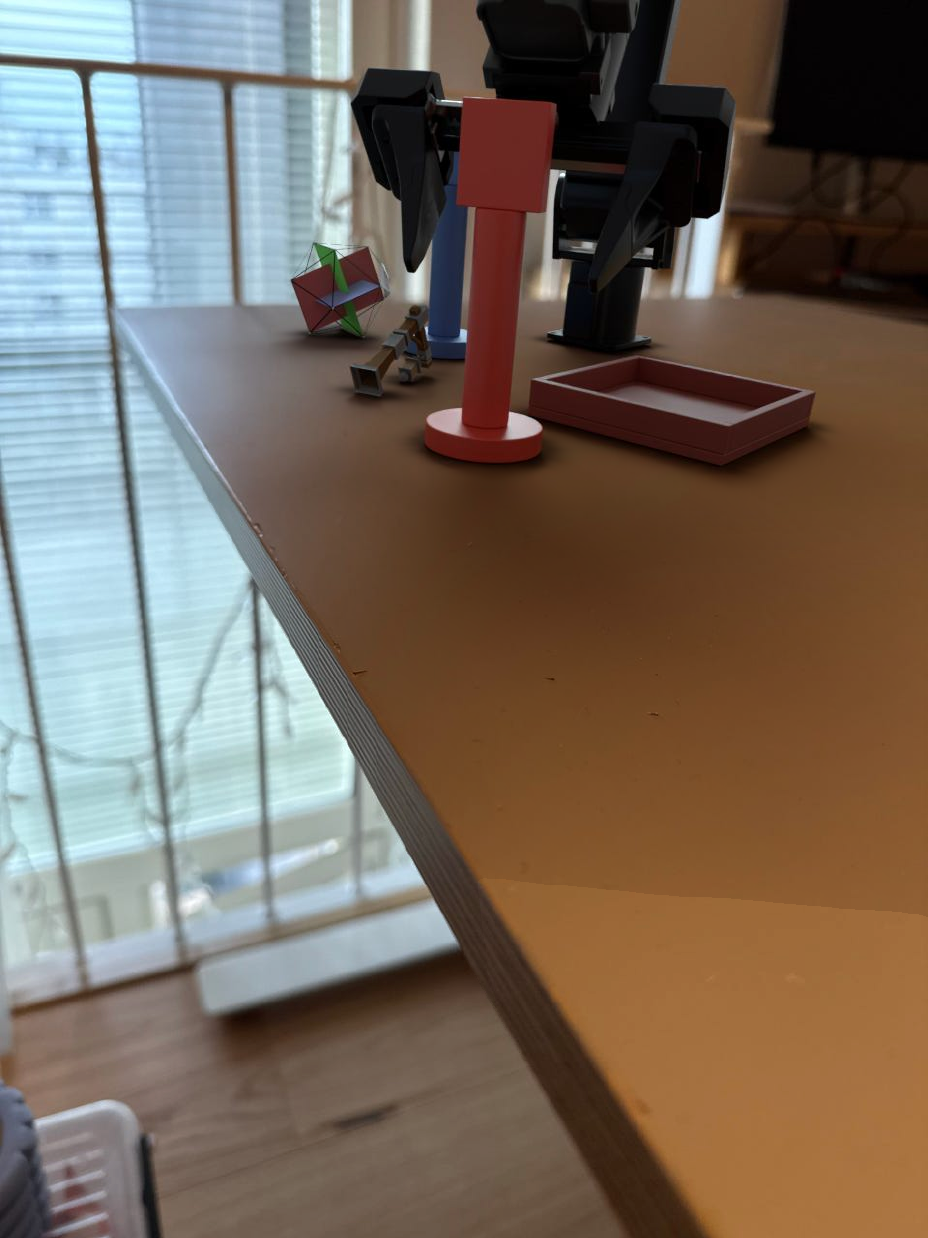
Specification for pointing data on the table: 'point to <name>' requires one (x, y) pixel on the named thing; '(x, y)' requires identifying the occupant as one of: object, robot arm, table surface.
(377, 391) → the jointed funnel contraption
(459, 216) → the blue pillar
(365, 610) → the table surface
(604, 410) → the red tray
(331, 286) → the geometric puzzle
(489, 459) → the signpost on round base
